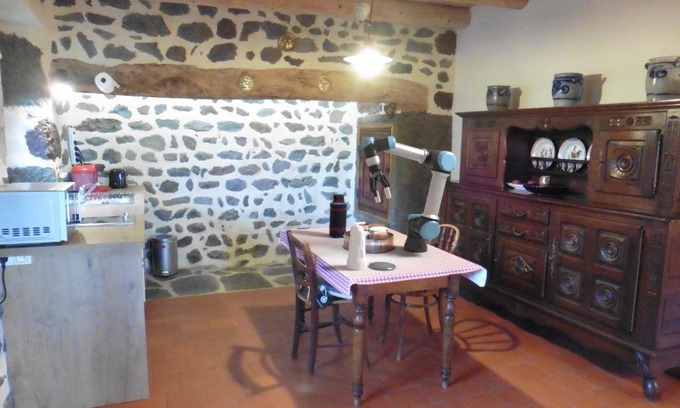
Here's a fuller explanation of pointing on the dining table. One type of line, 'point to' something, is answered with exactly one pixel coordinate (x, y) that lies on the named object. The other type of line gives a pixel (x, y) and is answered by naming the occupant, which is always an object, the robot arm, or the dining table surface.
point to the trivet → (382, 266)
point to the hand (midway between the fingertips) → (383, 200)
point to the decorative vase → (357, 249)
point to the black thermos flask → (337, 216)
